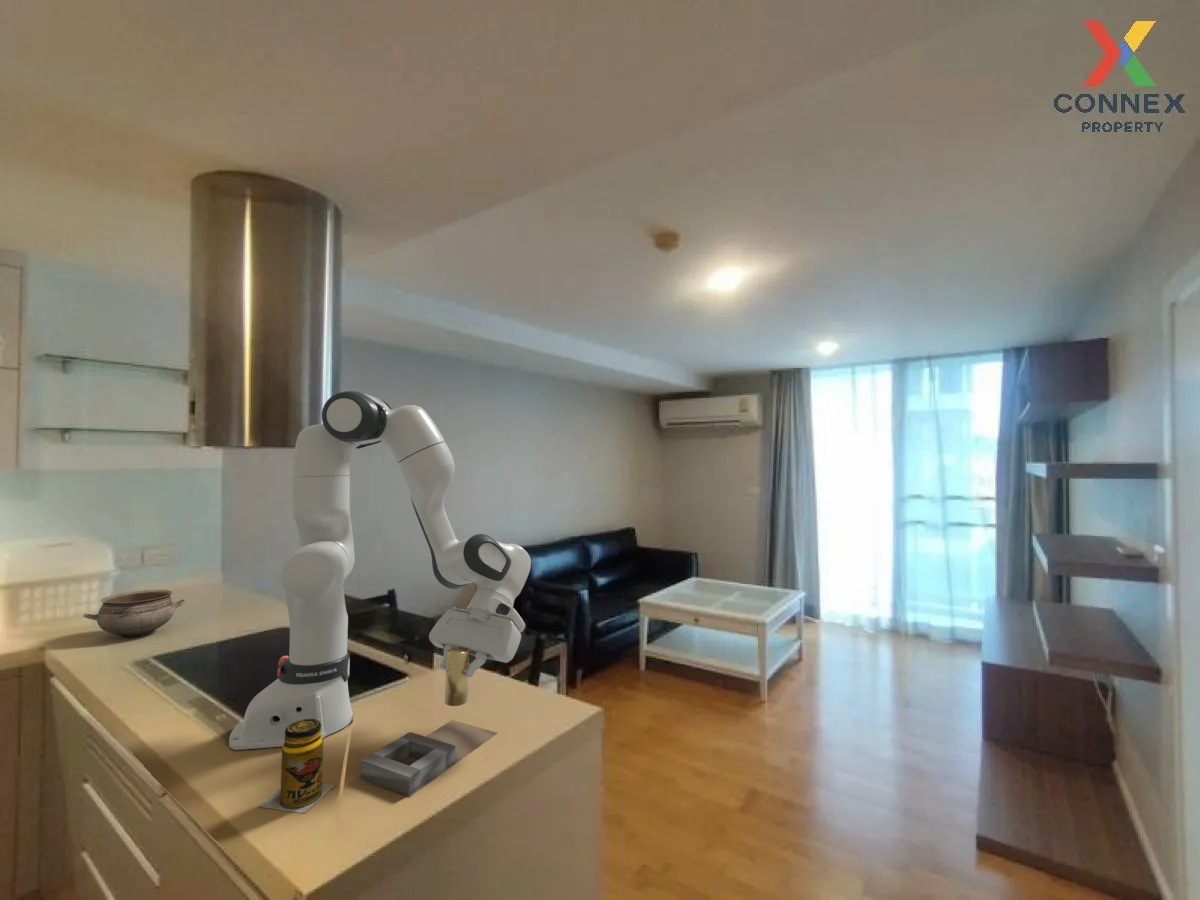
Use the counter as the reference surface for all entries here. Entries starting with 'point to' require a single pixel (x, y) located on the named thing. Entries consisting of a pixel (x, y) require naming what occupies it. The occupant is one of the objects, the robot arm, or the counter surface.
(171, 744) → the counter surface
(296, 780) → the condiment
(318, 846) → the counter surface
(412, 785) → the jig
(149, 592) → the cooking pot
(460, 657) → the translucent yellow cylinder
